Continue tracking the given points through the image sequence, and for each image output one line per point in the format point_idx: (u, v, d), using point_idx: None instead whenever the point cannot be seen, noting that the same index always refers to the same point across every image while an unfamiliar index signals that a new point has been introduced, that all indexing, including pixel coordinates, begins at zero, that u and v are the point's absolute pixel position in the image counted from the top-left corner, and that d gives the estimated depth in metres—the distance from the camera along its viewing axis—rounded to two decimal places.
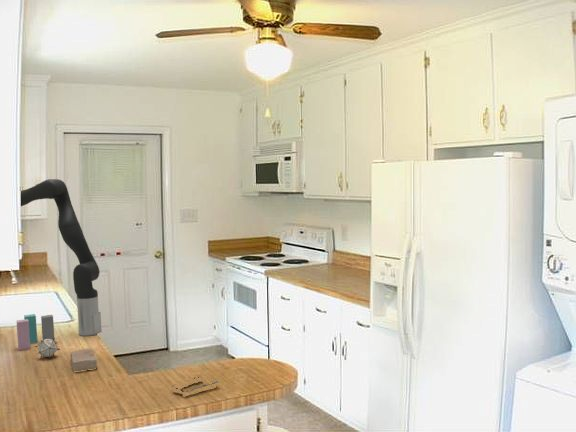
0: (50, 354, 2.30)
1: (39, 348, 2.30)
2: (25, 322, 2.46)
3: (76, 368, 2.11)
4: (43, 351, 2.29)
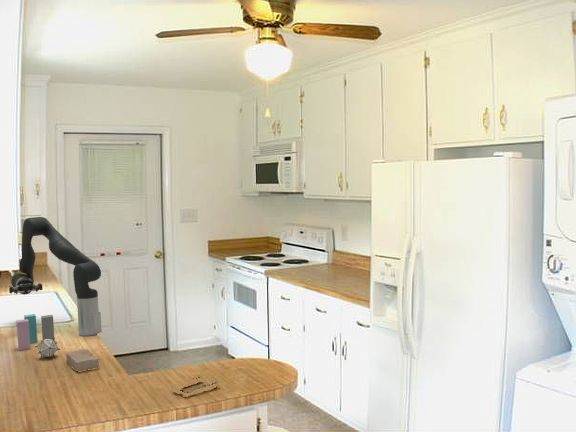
0: (50, 354, 2.30)
1: (39, 348, 2.30)
2: (25, 322, 2.46)
3: (79, 368, 2.11)
4: (43, 351, 2.29)
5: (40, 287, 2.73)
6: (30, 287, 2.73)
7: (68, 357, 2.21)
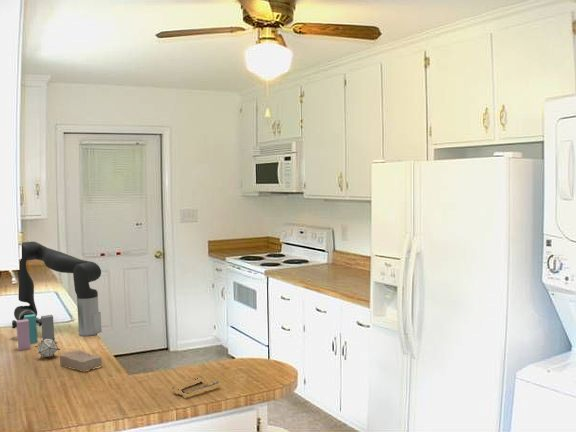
0: (50, 354, 2.30)
1: (39, 348, 2.30)
2: (25, 322, 2.46)
3: (86, 367, 2.12)
4: (43, 351, 2.29)
5: None
6: None
7: (64, 359, 2.19)
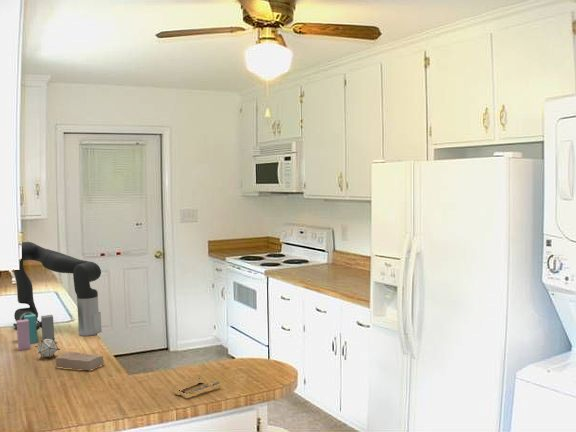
0: (50, 354, 2.30)
1: (39, 348, 2.30)
2: (25, 322, 2.46)
3: (91, 366, 2.13)
4: (43, 351, 2.29)
5: (41, 325, 2.61)
6: None
7: (63, 361, 2.16)
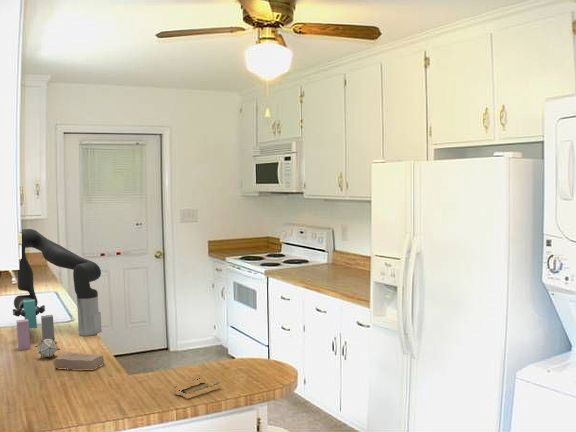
0: (50, 354, 2.30)
1: (39, 348, 2.30)
2: (25, 322, 2.46)
3: (94, 365, 2.14)
4: (43, 351, 2.29)
5: (40, 310, 2.61)
6: None
7: (63, 361, 2.15)
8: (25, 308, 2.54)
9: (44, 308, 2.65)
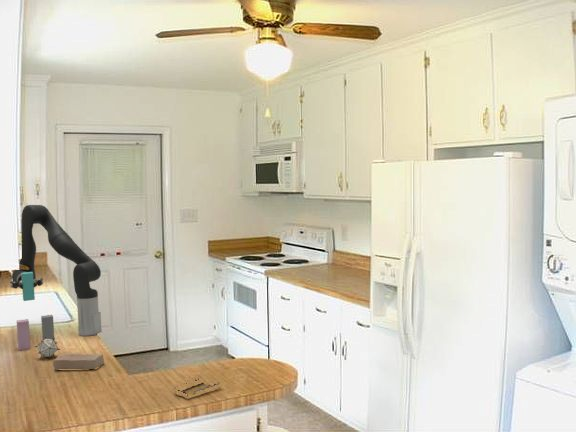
0: (50, 354, 2.30)
1: (39, 348, 2.30)
2: (25, 322, 2.46)
3: (97, 365, 2.15)
4: (43, 351, 2.29)
5: (38, 283, 2.60)
6: None
7: (63, 362, 2.14)
8: (23, 280, 2.54)
9: (42, 281, 2.65)
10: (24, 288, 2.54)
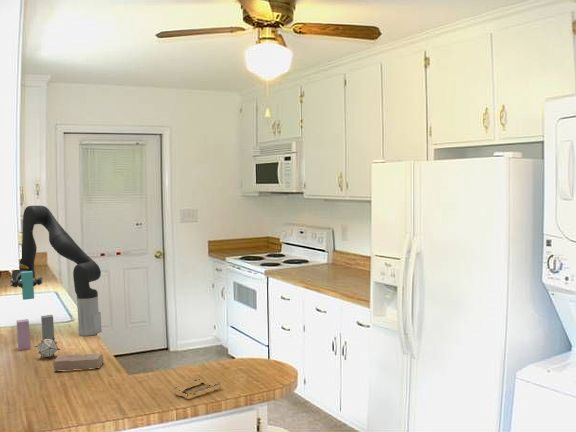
0: (50, 354, 2.30)
1: (39, 348, 2.30)
2: (25, 322, 2.46)
3: (99, 364, 2.16)
4: (43, 351, 2.29)
5: (38, 282, 2.63)
6: None
7: (64, 363, 2.13)
8: (23, 279, 2.56)
9: (41, 280, 2.67)
10: (24, 287, 2.57)
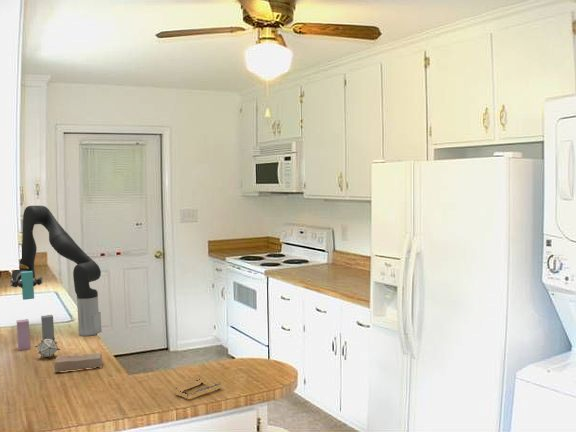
0: (50, 354, 2.30)
1: (39, 348, 2.30)
2: (25, 322, 2.46)
3: (101, 363, 2.17)
4: (43, 351, 2.29)
5: (38, 282, 2.63)
6: None
7: (66, 364, 2.12)
8: (23, 279, 2.56)
9: (41, 280, 2.67)
10: (24, 287, 2.57)
